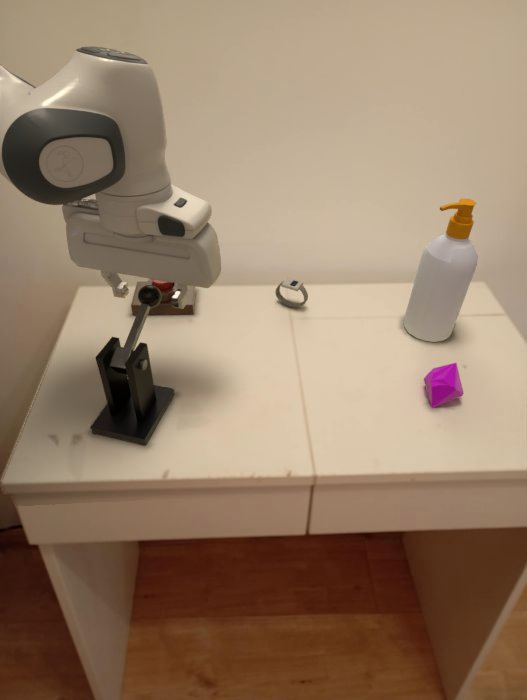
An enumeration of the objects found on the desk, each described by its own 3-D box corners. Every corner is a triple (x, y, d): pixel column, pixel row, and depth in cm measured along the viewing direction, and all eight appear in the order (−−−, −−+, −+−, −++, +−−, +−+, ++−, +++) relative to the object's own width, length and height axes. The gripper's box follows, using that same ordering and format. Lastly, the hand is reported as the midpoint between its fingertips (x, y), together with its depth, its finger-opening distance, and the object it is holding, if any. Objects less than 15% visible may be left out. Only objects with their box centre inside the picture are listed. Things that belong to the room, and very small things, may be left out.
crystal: (418, 383, 74) (425, 362, 71) (451, 383, 74) (460, 361, 72) (428, 408, 70) (437, 386, 67) (463, 407, 71) (473, 385, 68)
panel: (132, 315, 86) (129, 296, 83) (138, 291, 92) (135, 273, 89) (193, 314, 86) (192, 296, 84) (195, 290, 92) (194, 272, 90)
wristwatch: (272, 304, 90) (274, 282, 86) (278, 297, 91) (280, 275, 88) (302, 313, 88) (305, 291, 84) (308, 306, 89) (310, 283, 86)
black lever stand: (125, 383, 72) (112, 322, 64) (174, 394, 71) (166, 332, 63) (91, 432, 65) (72, 369, 57) (145, 445, 63) (132, 382, 56)
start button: (152, 291, 85) (151, 283, 84) (154, 281, 88) (153, 272, 87) (172, 291, 85) (171, 283, 84) (173, 280, 88) (173, 272, 87)
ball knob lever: (146, 291, 68) (139, 278, 65) (167, 294, 67) (161, 282, 64) (113, 372, 62) (104, 363, 59) (135, 377, 62) (127, 368, 59)
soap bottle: (389, 321, 87) (422, 195, 71) (429, 309, 90) (468, 186, 74) (420, 349, 81) (462, 218, 65) (461, 335, 84) (511, 208, 69)
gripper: (44, 204, 56) (71, 300, 65) (206, 228, 53) (211, 326, 62) (73, 185, 61) (94, 277, 70) (223, 206, 57) (226, 300, 66)
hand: (150, 300), depth 66 cm, fingers open, 7 cm apart
